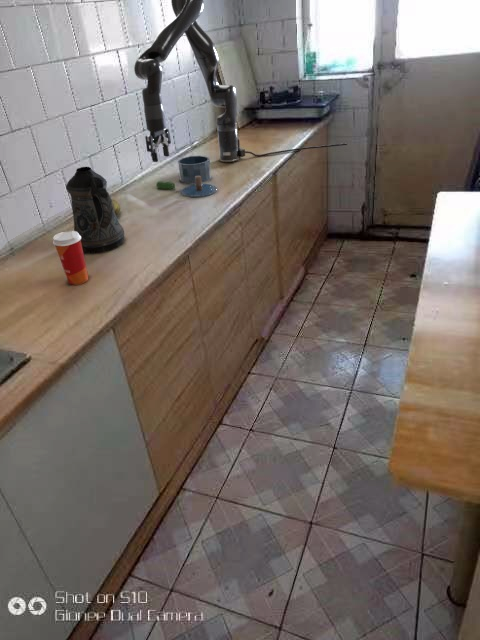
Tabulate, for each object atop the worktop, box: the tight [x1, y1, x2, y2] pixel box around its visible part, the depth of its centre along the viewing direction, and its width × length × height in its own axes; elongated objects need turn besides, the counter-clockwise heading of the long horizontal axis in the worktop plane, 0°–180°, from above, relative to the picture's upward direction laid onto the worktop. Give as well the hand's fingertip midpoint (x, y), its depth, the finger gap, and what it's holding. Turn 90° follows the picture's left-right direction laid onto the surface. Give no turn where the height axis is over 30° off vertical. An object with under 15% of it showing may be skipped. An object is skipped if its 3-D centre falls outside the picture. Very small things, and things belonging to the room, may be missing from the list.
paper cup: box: [52, 230, 89, 286], centre depth 135 cm, size 8×8×14 cm
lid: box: [181, 176, 218, 198], centre depth 194 cm, size 15×15×7 cm
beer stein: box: [65, 166, 125, 255], centre depth 152 cm, size 16×19×25 cm
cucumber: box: [155, 180, 176, 191], centre depth 201 cm, size 9×3×3 cm, turn 66°
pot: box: [177, 155, 212, 184], centre depth 208 cm, size 14×14×8 cm
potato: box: [112, 199, 121, 216], centre depth 178 cm, size 8×13×8 cm, turn 161°
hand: (161, 158), depth 195 cm, fingers open, 8 cm apart
